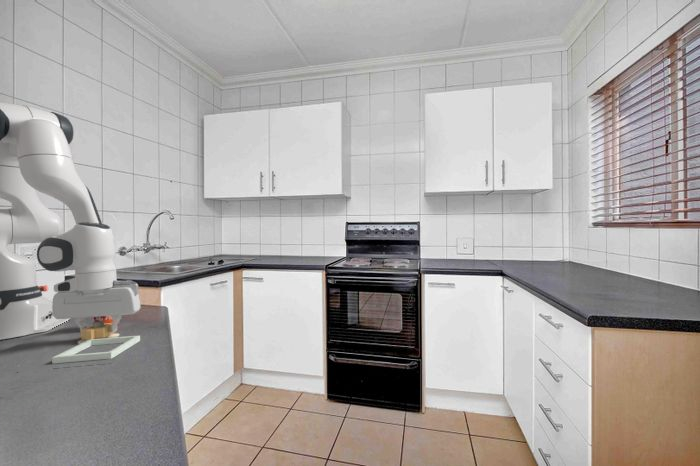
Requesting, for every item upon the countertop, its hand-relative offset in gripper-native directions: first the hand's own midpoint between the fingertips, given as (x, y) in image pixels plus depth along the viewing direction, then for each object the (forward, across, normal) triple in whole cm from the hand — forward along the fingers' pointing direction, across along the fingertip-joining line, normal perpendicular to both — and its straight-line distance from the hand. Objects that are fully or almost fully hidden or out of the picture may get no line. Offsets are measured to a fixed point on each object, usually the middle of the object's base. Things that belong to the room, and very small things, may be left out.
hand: (99, 332), depth 87 cm
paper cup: (+3, +5, -12) cm, 13 cm away
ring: (+1, 0, 0) cm, 1 cm away
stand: (+3, 0, 0) cm, 3 cm away
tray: (+3, -7, +11) cm, 14 cm away
